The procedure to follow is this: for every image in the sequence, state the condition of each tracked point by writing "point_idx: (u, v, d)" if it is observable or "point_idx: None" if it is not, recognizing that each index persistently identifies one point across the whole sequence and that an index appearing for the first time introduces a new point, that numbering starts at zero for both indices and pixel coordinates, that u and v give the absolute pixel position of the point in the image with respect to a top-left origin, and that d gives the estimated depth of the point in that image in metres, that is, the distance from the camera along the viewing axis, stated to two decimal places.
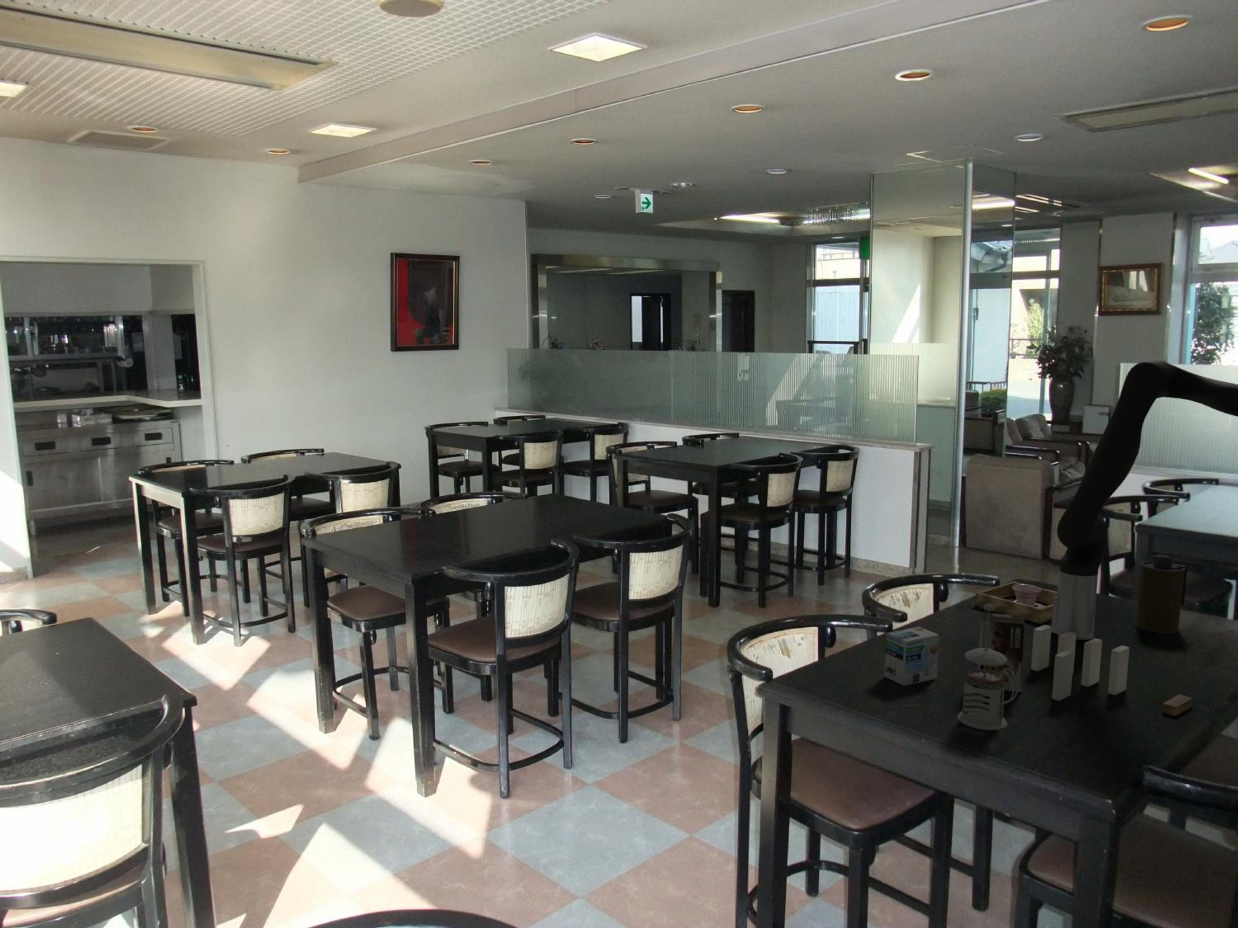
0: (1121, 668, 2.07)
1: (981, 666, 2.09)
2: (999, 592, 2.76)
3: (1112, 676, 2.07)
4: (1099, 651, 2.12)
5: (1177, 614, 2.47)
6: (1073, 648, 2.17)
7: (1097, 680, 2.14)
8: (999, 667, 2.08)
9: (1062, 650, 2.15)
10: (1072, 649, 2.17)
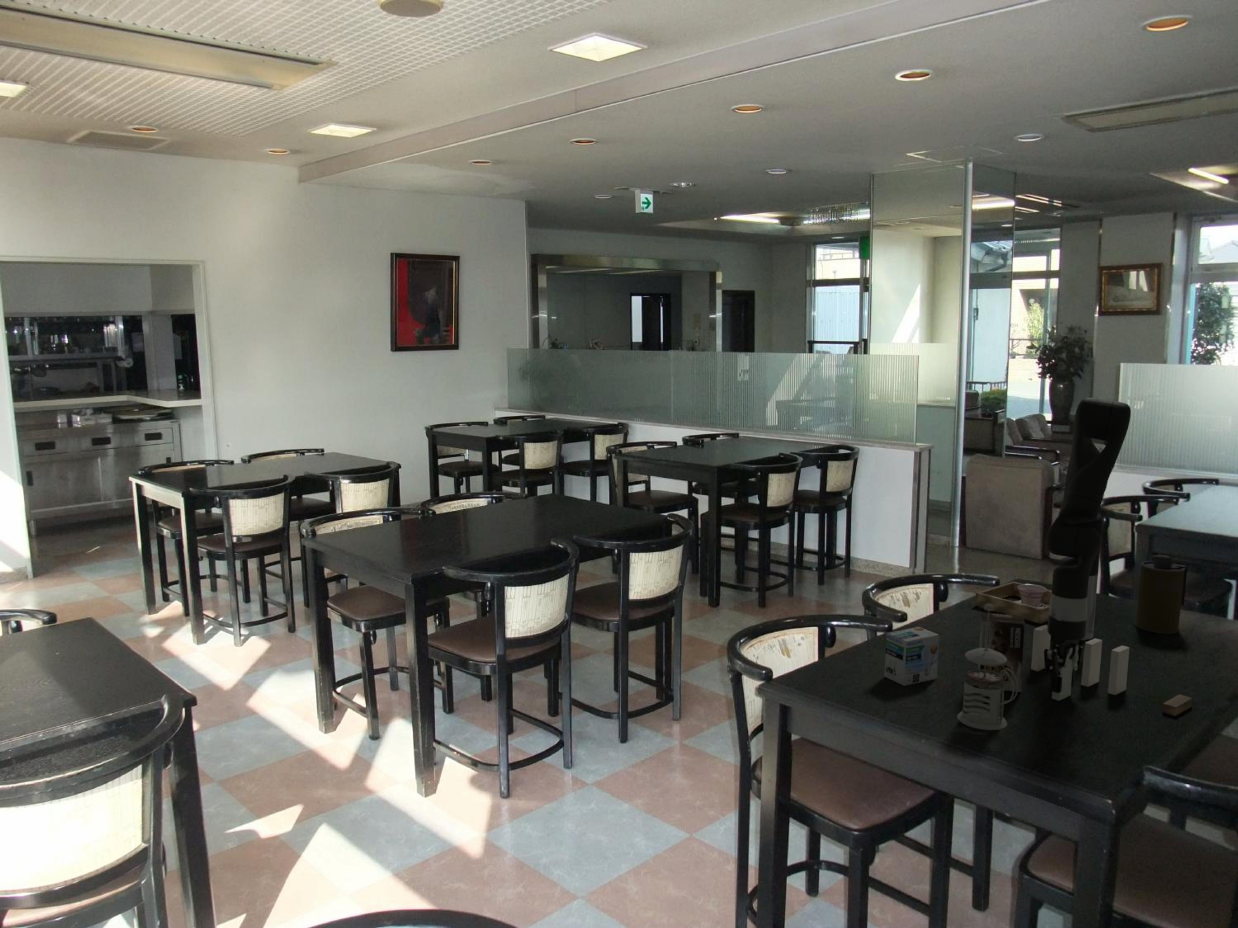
0: (1121, 668, 2.07)
1: (981, 666, 2.09)
2: (999, 592, 2.76)
3: (1112, 676, 2.07)
4: (1099, 651, 2.12)
5: (1177, 614, 2.47)
6: None
7: (1097, 680, 2.14)
8: (999, 667, 2.08)
9: None
10: None
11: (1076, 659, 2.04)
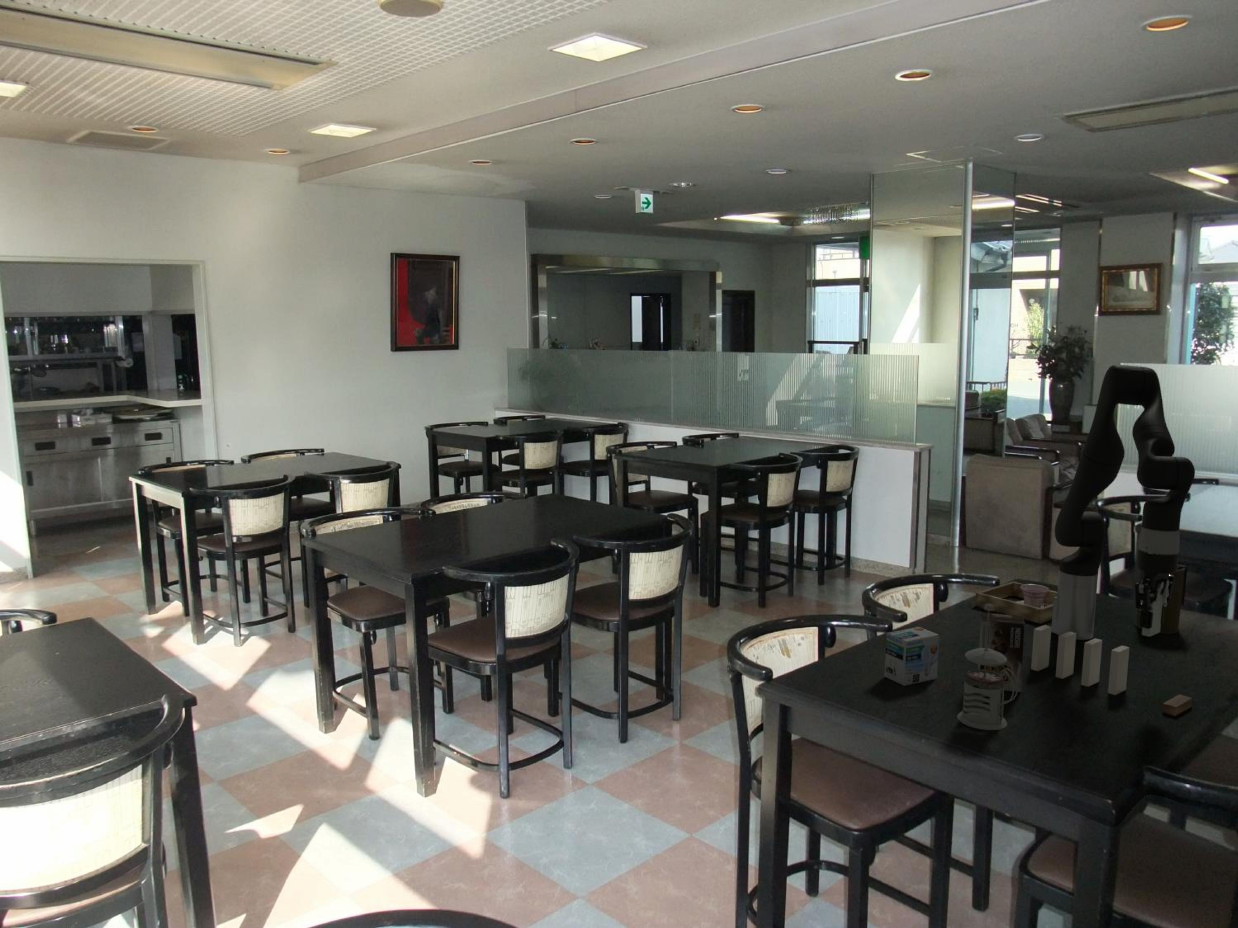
0: (1121, 668, 2.07)
1: (981, 666, 2.09)
2: (999, 592, 2.76)
3: (1112, 676, 2.07)
4: (1099, 651, 2.12)
5: (1177, 614, 2.47)
6: (1073, 648, 2.17)
7: (1097, 680, 2.14)
8: (999, 667, 2.08)
9: (1062, 650, 2.15)
10: (1072, 649, 2.17)
11: (1166, 594, 2.00)
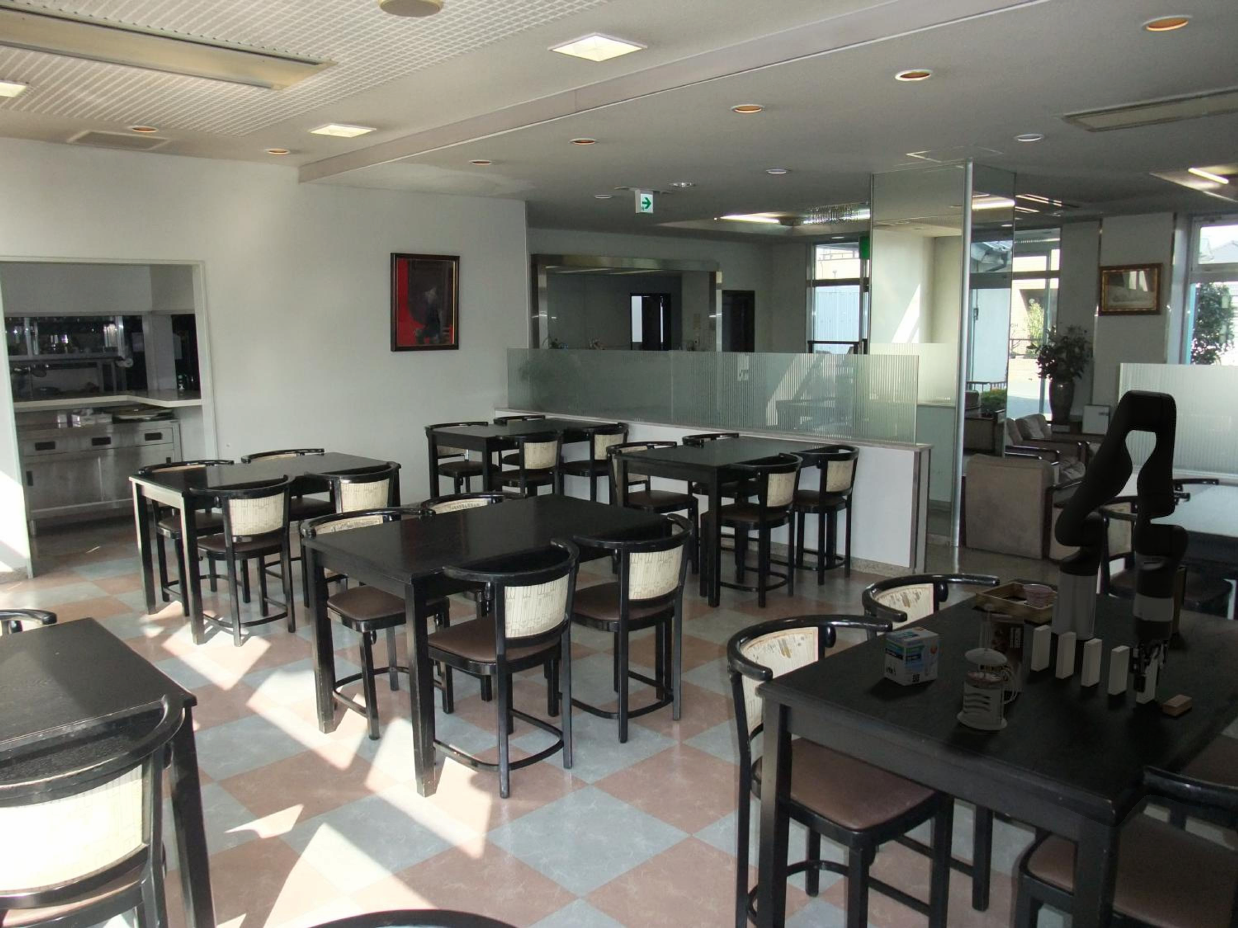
0: (1121, 668, 2.07)
1: (981, 666, 2.09)
2: (999, 592, 2.76)
3: (1112, 676, 2.07)
4: (1099, 651, 2.12)
5: (1177, 614, 2.47)
6: (1073, 648, 2.17)
7: (1097, 680, 2.14)
8: (999, 667, 2.08)
9: (1062, 650, 2.15)
10: (1072, 649, 2.17)
11: (1161, 658, 2.03)
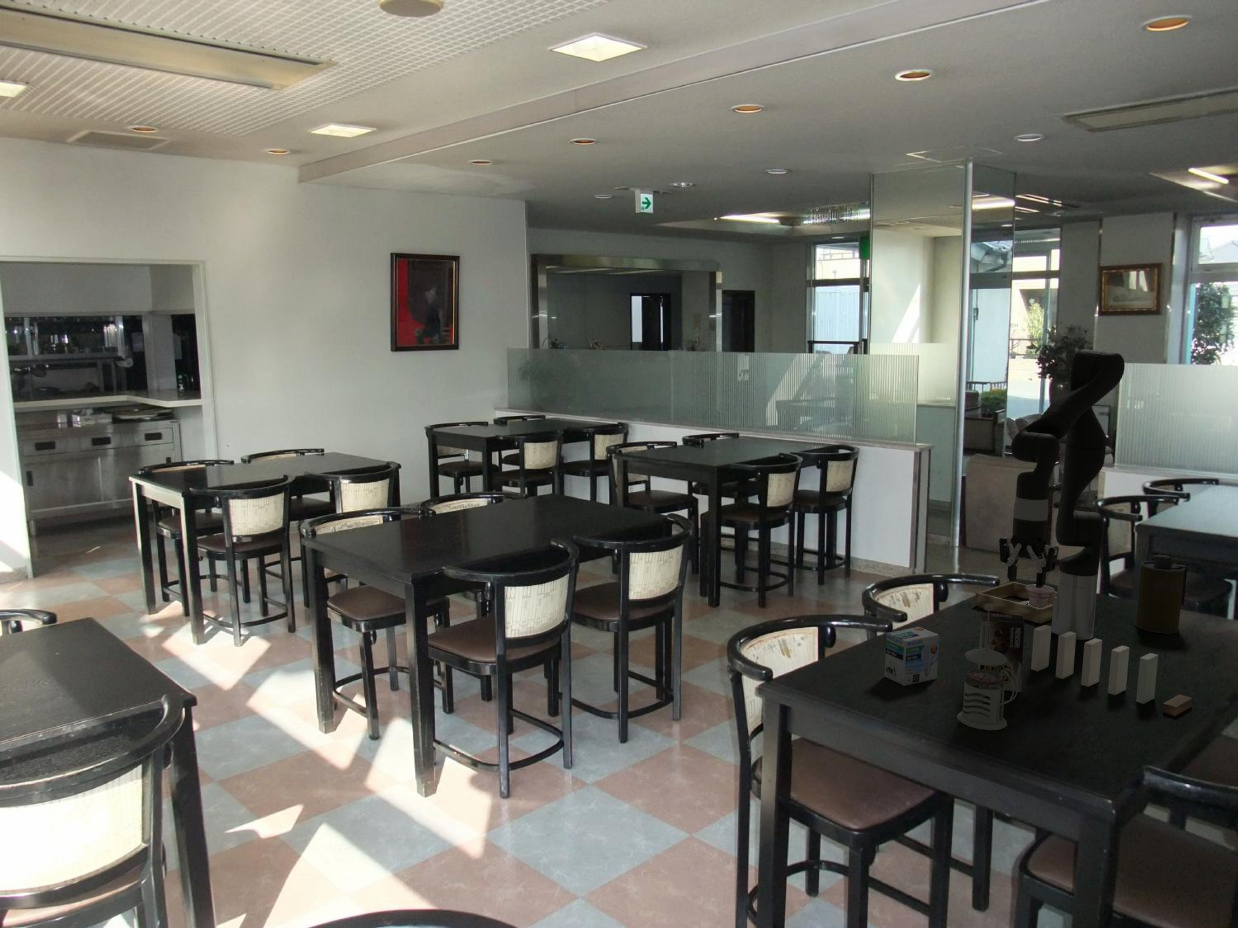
0: (1121, 668, 2.07)
1: (981, 666, 2.09)
2: (999, 592, 2.76)
3: (1112, 676, 2.06)
4: (1099, 651, 2.12)
5: (1177, 614, 2.47)
6: (1073, 648, 2.17)
7: (1097, 680, 2.14)
8: (999, 667, 2.08)
9: (1062, 650, 2.15)
10: (1072, 649, 2.17)
11: (1033, 560, 2.20)
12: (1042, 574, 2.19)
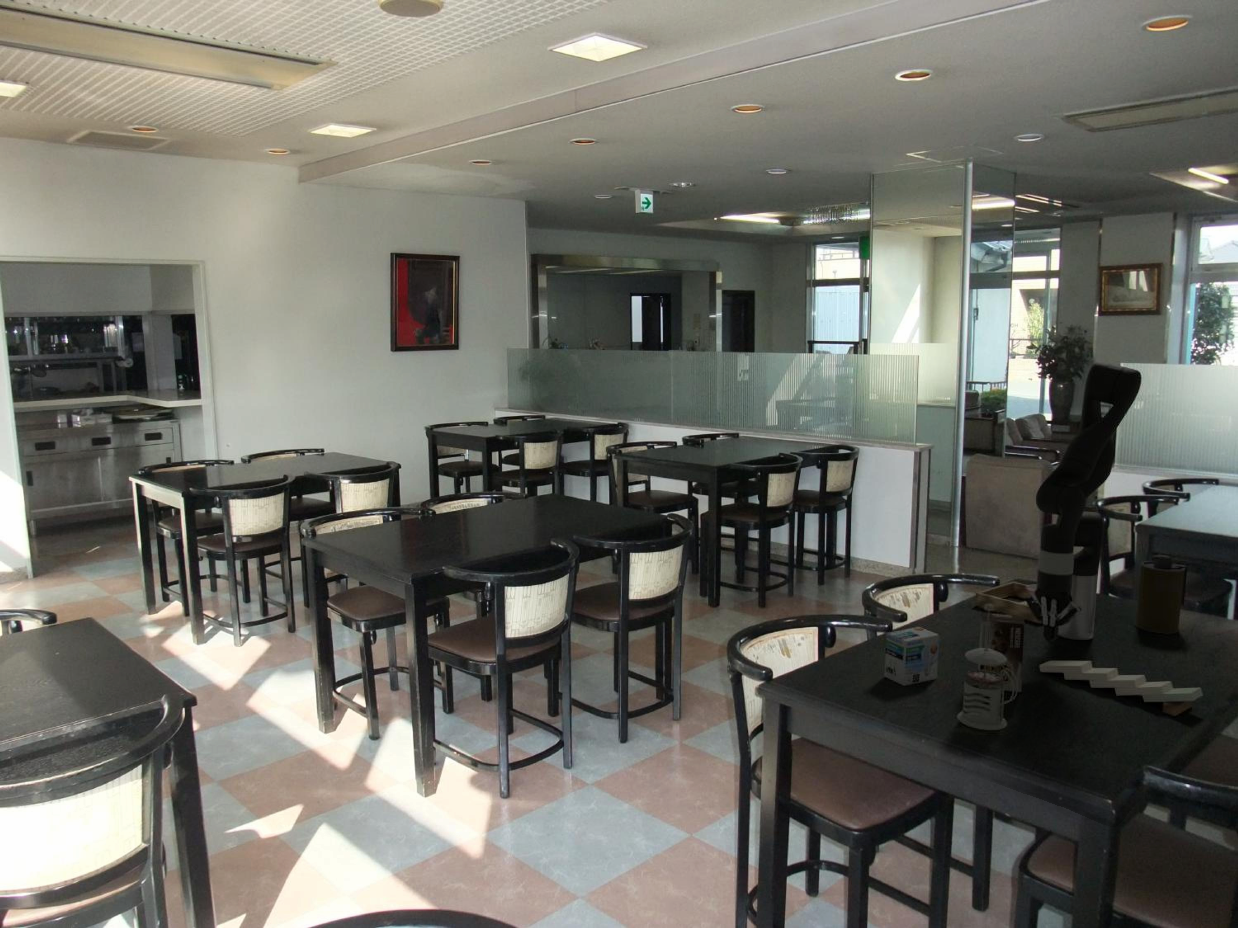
0: None
1: (981, 666, 2.09)
2: (999, 592, 2.76)
3: (1133, 690, 2.03)
4: None
5: (1177, 614, 2.47)
6: None
7: None
8: (999, 667, 2.08)
9: (1093, 677, 2.10)
10: None
11: (1051, 613, 2.17)
12: (1054, 627, 2.18)
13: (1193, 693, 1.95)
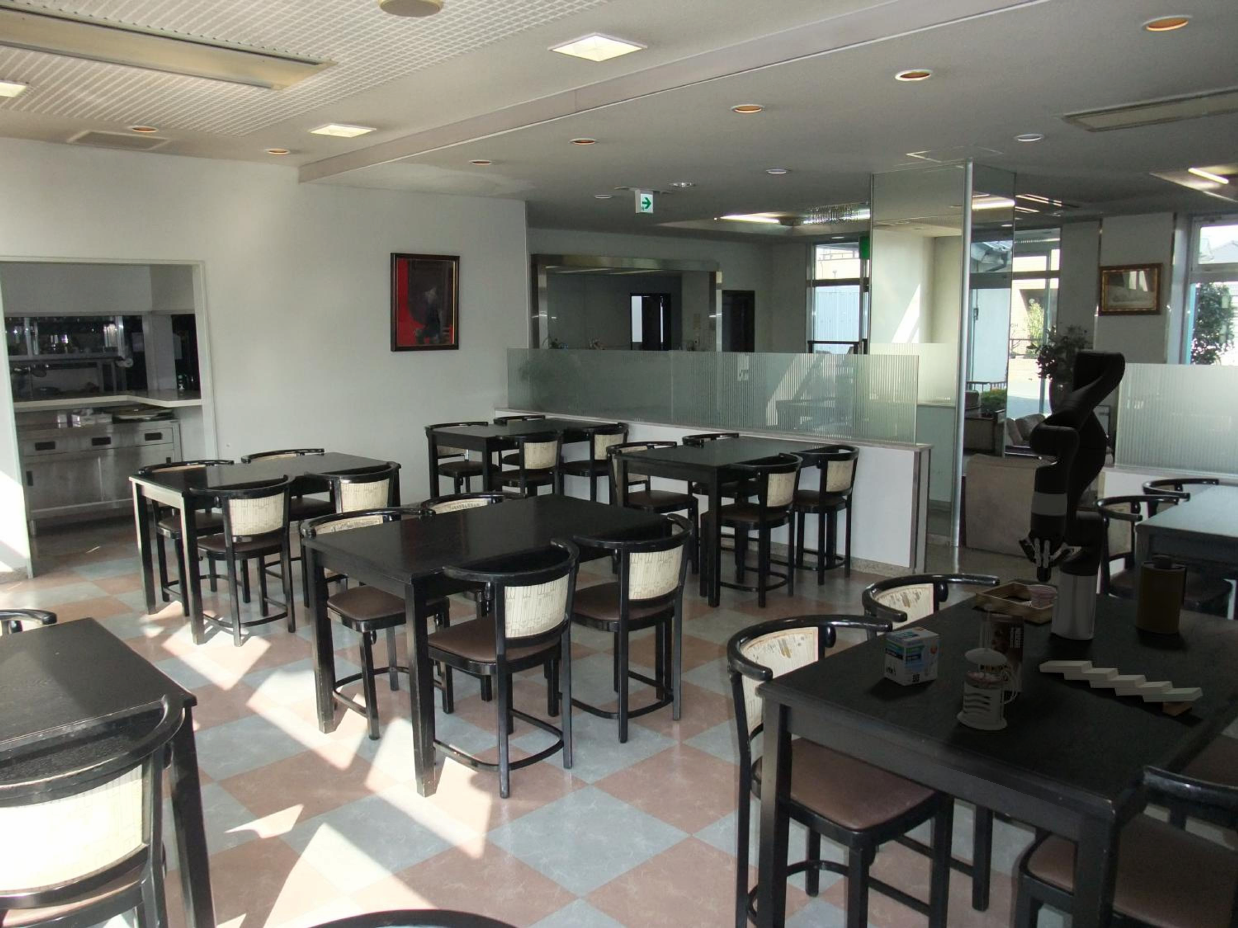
0: None
1: (981, 666, 2.09)
2: (999, 592, 2.76)
3: (1133, 690, 2.03)
4: None
5: (1177, 614, 2.47)
6: None
7: None
8: (999, 667, 2.08)
9: (1093, 677, 2.10)
10: None
11: (1044, 554, 2.18)
12: (1048, 569, 2.18)
13: (1193, 693, 1.95)
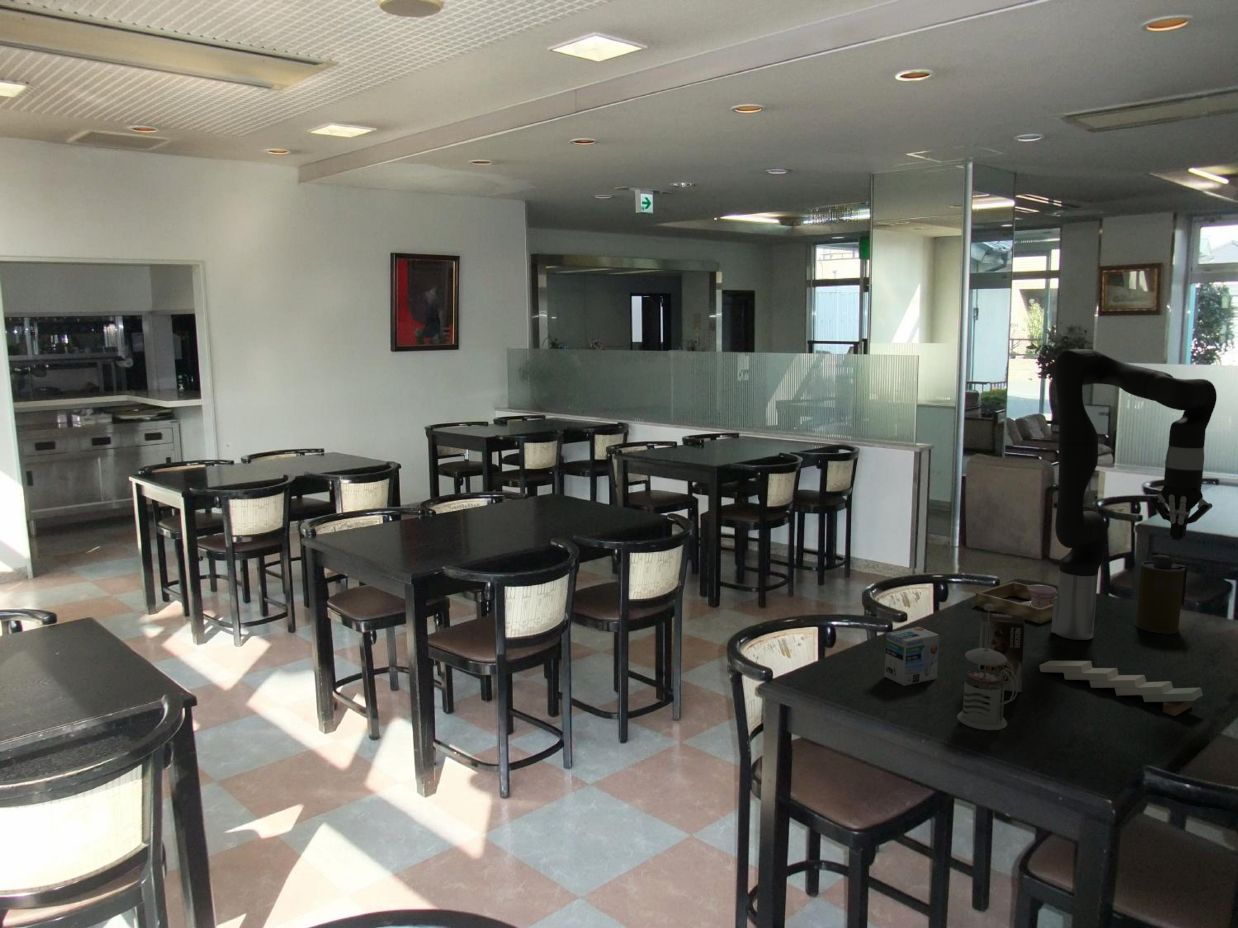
0: None
1: (981, 666, 2.09)
2: (999, 592, 2.76)
3: (1133, 690, 2.03)
4: None
5: (1177, 614, 2.47)
6: None
7: None
8: (999, 667, 2.08)
9: (1093, 677, 2.10)
10: None
11: (1180, 511, 2.13)
12: (1183, 526, 2.14)
13: (1193, 693, 1.95)
